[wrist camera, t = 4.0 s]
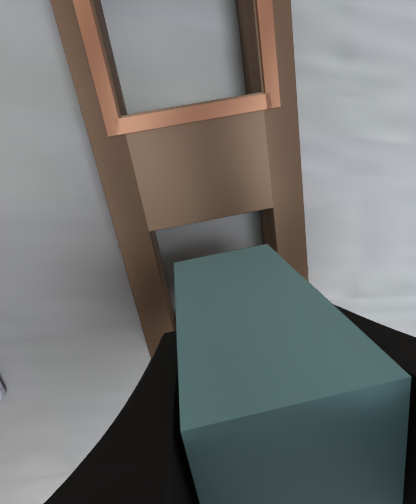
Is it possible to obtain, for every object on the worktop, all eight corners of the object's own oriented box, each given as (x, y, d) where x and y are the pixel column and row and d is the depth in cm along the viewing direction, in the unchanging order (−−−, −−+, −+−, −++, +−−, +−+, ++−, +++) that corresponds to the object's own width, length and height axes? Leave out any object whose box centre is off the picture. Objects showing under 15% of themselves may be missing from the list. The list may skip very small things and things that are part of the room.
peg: (191, 342, 14) (218, 574, 6) (173, 262, 12) (180, 431, 5) (275, 324, 14) (401, 525, 6) (266, 243, 13) (411, 376, 5)
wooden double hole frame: (155, 340, 19) (153, 369, 16) (45, -70, 12) (13, -128, 10) (294, 310, 19) (312, 334, 17) (260, -99, 13) (282, -160, 10)
